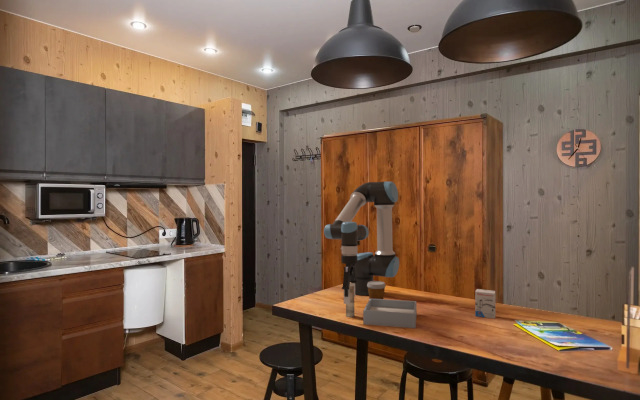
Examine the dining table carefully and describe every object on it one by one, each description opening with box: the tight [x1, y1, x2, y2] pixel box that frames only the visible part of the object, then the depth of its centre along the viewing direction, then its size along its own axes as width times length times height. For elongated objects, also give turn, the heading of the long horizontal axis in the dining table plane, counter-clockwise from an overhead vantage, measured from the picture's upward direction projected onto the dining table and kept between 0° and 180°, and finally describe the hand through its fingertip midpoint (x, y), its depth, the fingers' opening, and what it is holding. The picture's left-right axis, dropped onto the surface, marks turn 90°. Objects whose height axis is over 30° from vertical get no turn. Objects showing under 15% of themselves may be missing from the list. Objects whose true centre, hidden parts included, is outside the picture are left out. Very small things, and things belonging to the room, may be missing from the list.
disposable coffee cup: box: [367, 280, 386, 299], centre depth 194 cm, size 10×10×12 cm
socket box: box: [362, 298, 418, 329], centre depth 174 cm, size 21×22×6 cm
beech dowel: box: [345, 285, 355, 318], centre depth 179 cm, size 4×4×14 cm
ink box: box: [474, 288, 497, 320], centre depth 176 cm, size 9×5×12 cm, turn 62°
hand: (349, 299), depth 178 cm, fingers open, 13 cm apart
